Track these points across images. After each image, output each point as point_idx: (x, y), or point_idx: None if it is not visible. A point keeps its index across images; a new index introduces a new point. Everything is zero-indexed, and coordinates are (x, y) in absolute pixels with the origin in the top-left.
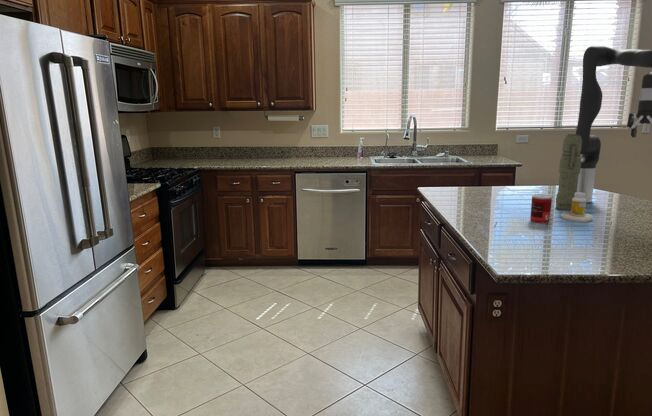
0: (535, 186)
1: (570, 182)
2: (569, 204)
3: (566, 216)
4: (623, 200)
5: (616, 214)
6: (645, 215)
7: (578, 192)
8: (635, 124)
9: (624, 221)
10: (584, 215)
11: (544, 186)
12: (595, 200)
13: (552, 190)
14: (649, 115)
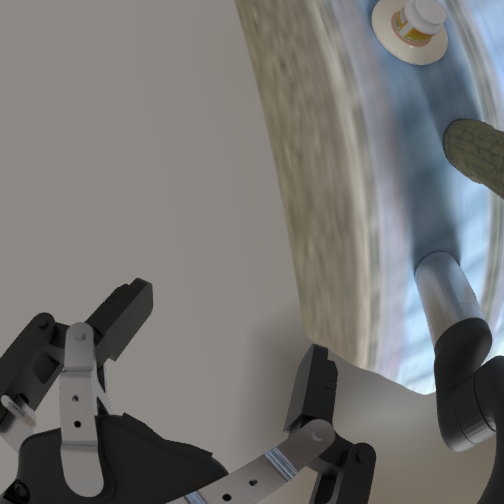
0: None
1: (500, 134)
2: (461, 121)
3: None
4: (347, 322)
5: (342, 138)
6: (278, 172)
7: (439, 17)
8: (284, 459)
9: (303, 61)
10: (395, 28)
11: None
12: (405, 293)
13: None
14: (81, 492)
